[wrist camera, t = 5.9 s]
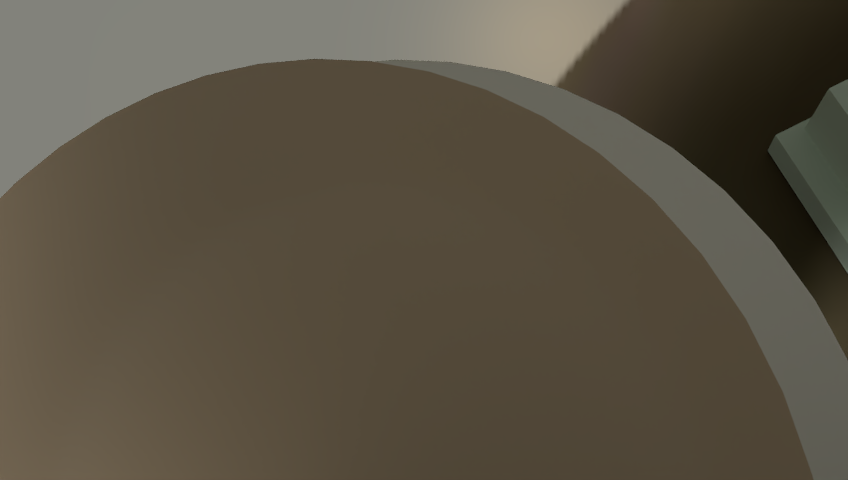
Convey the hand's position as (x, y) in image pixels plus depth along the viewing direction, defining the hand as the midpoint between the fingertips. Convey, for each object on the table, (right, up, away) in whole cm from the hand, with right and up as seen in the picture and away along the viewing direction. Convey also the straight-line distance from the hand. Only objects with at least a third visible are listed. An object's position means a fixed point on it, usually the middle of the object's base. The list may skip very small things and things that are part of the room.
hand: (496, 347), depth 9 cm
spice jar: (+2, -3, +6) cm, 7 cm away
